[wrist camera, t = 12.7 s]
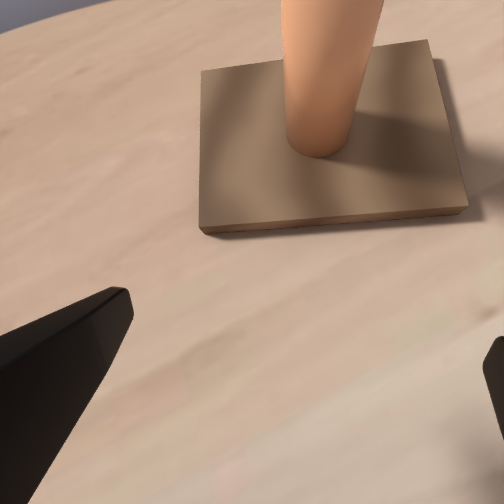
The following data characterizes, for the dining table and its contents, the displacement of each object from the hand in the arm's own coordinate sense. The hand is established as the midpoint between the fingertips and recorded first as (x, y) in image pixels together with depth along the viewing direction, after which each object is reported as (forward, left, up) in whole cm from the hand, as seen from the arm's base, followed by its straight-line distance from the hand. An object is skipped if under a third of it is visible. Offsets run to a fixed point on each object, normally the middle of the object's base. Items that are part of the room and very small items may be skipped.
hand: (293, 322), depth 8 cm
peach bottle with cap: (-3, -15, -12) cm, 19 cm away
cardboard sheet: (-3, -15, -14) cm, 20 cm away
